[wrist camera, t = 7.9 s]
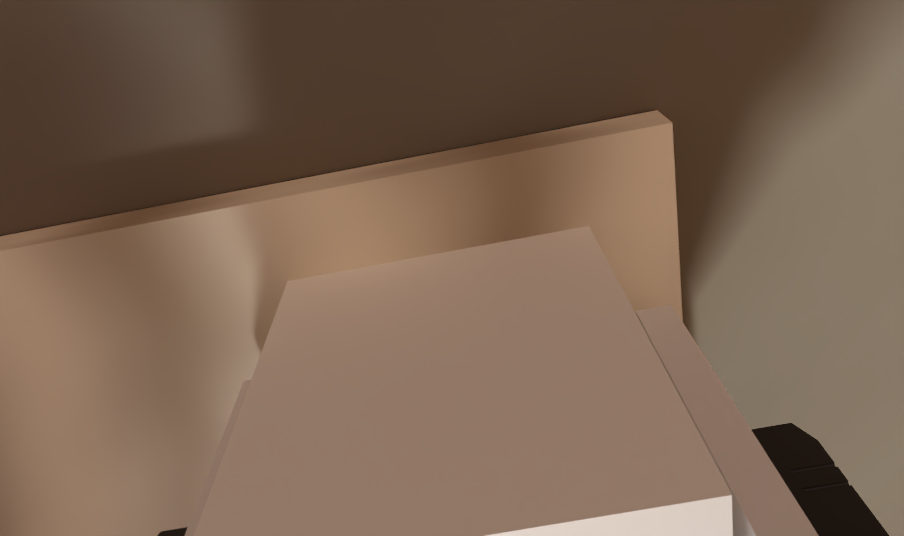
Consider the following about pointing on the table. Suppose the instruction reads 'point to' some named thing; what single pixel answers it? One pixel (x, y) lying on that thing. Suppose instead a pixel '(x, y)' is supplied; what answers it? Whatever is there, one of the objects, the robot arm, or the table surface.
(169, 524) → the board
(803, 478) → the robot arm
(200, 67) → the table surface
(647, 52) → the table surface
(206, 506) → the white tilted cube
